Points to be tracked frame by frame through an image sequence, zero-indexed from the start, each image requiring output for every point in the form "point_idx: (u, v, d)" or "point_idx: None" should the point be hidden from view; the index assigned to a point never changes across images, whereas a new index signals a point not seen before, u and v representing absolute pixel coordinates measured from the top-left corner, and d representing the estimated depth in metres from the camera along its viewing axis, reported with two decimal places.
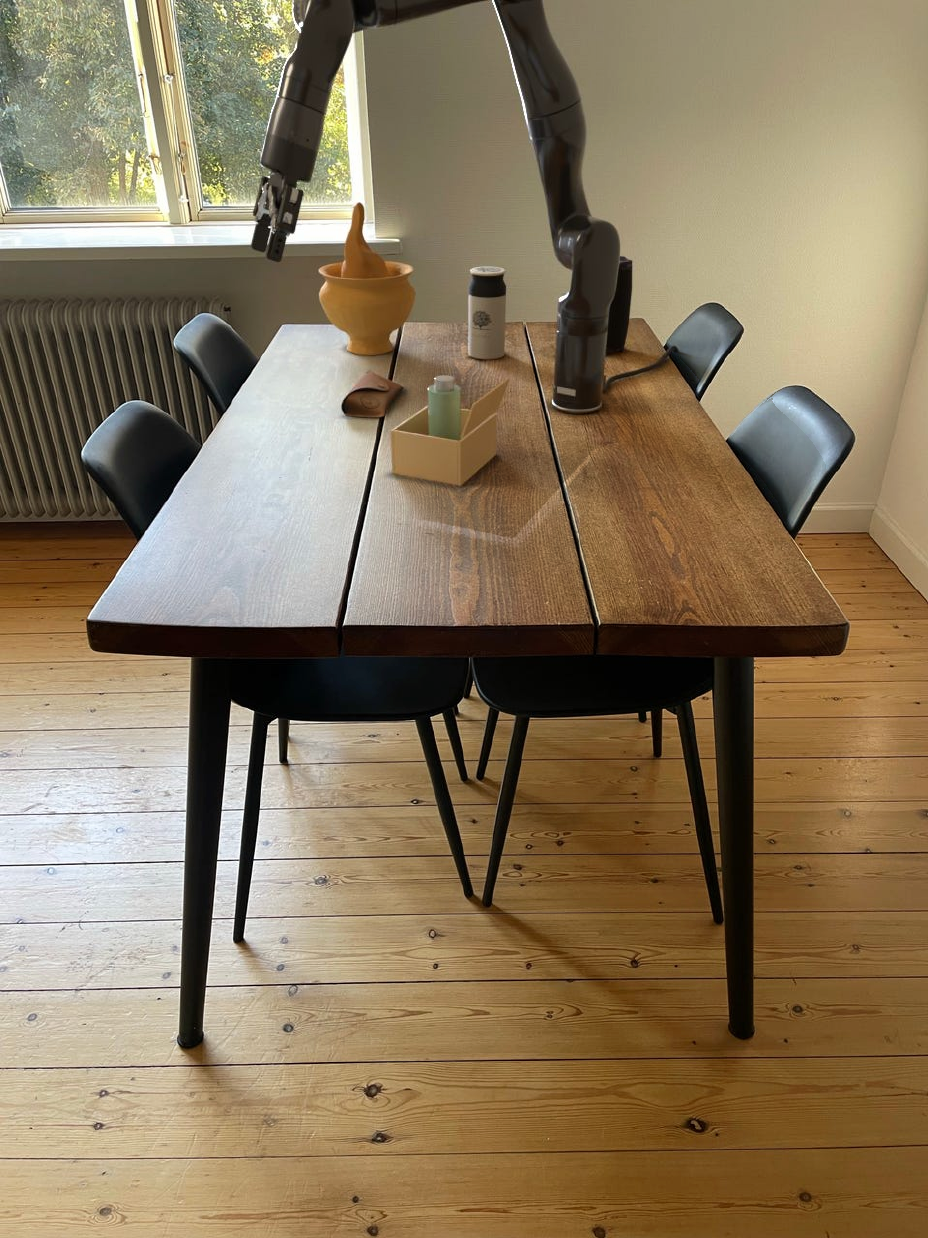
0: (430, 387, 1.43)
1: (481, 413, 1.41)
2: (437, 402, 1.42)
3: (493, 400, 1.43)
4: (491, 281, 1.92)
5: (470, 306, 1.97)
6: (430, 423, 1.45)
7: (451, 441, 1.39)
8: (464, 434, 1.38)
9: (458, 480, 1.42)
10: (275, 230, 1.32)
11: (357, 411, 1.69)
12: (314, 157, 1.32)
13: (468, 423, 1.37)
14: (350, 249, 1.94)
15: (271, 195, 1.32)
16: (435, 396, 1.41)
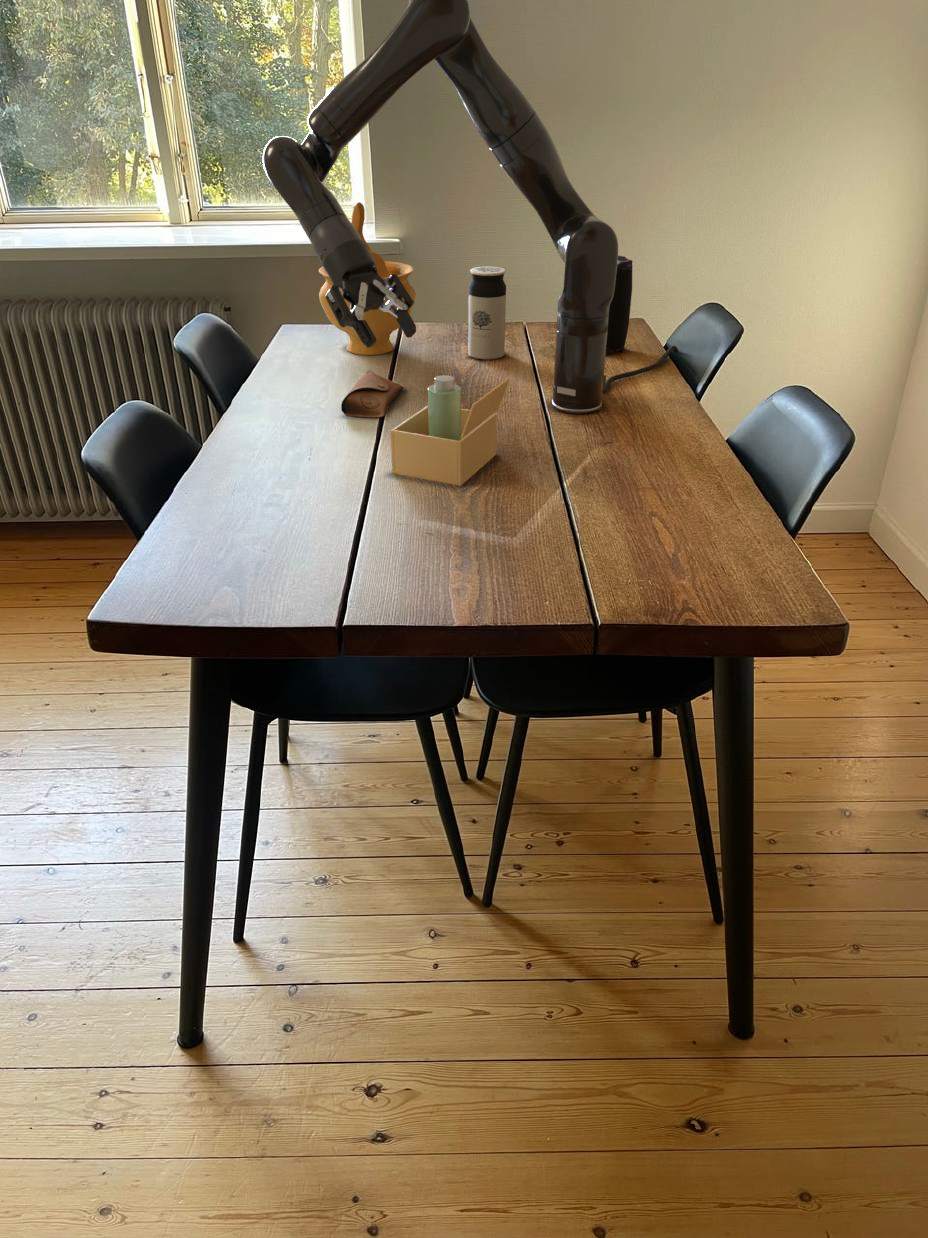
0: (430, 387, 1.43)
1: (481, 413, 1.41)
2: (437, 402, 1.42)
3: (493, 400, 1.43)
4: (491, 281, 1.92)
5: (470, 306, 1.97)
6: (430, 423, 1.45)
7: (451, 441, 1.39)
8: (464, 434, 1.38)
9: (458, 480, 1.42)
10: (352, 326, 1.45)
11: (357, 411, 1.69)
12: (342, 249, 1.44)
13: (468, 423, 1.37)
14: None
15: None
16: (435, 396, 1.41)
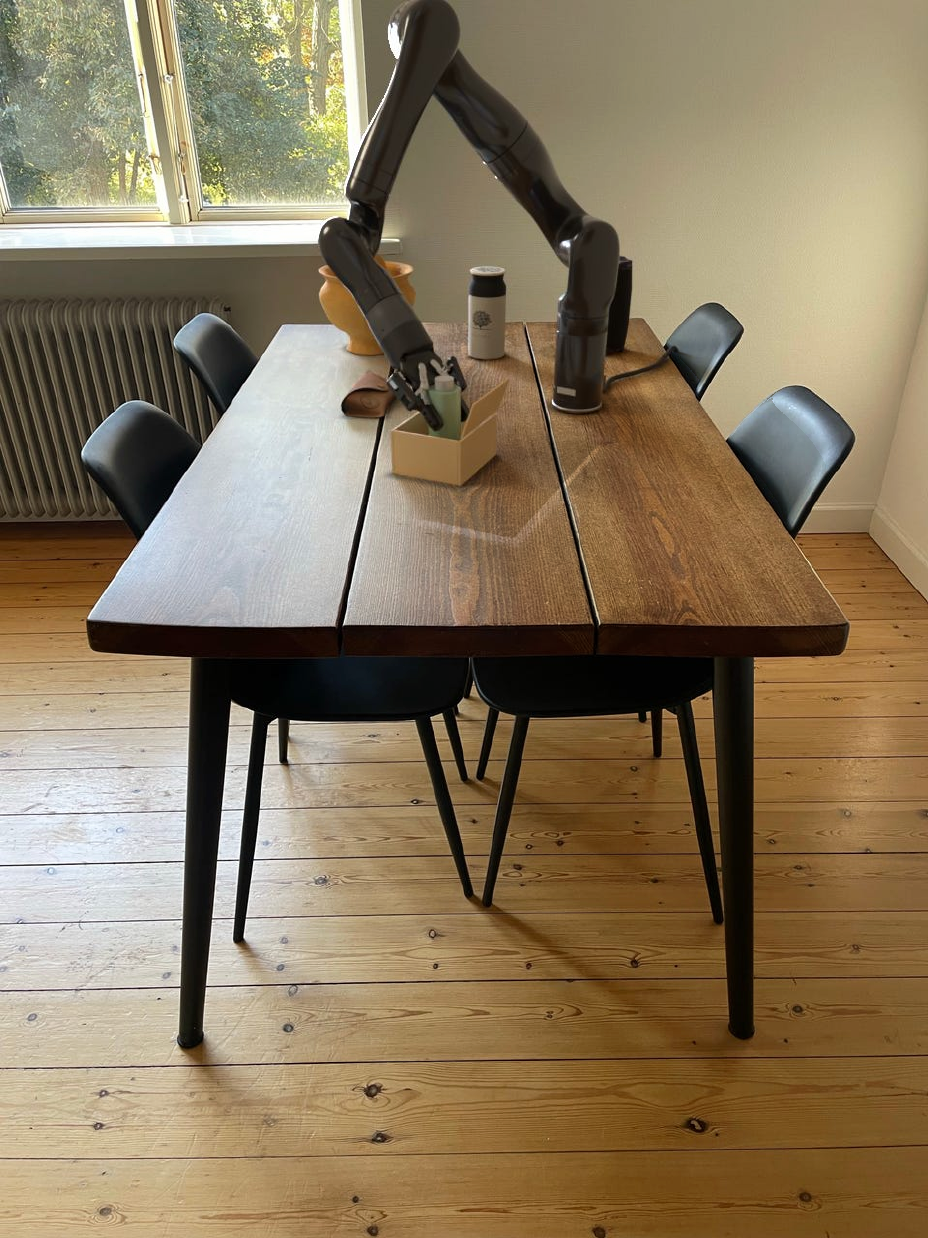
0: (430, 387, 1.43)
1: (481, 413, 1.41)
2: (437, 402, 1.42)
3: (493, 400, 1.43)
4: (491, 281, 1.92)
5: (470, 306, 1.97)
6: None
7: (451, 441, 1.39)
8: (464, 434, 1.38)
9: (458, 480, 1.42)
10: (419, 410, 1.43)
11: (357, 411, 1.69)
12: (399, 330, 1.42)
13: (468, 423, 1.37)
14: None
15: None
16: (435, 396, 1.41)
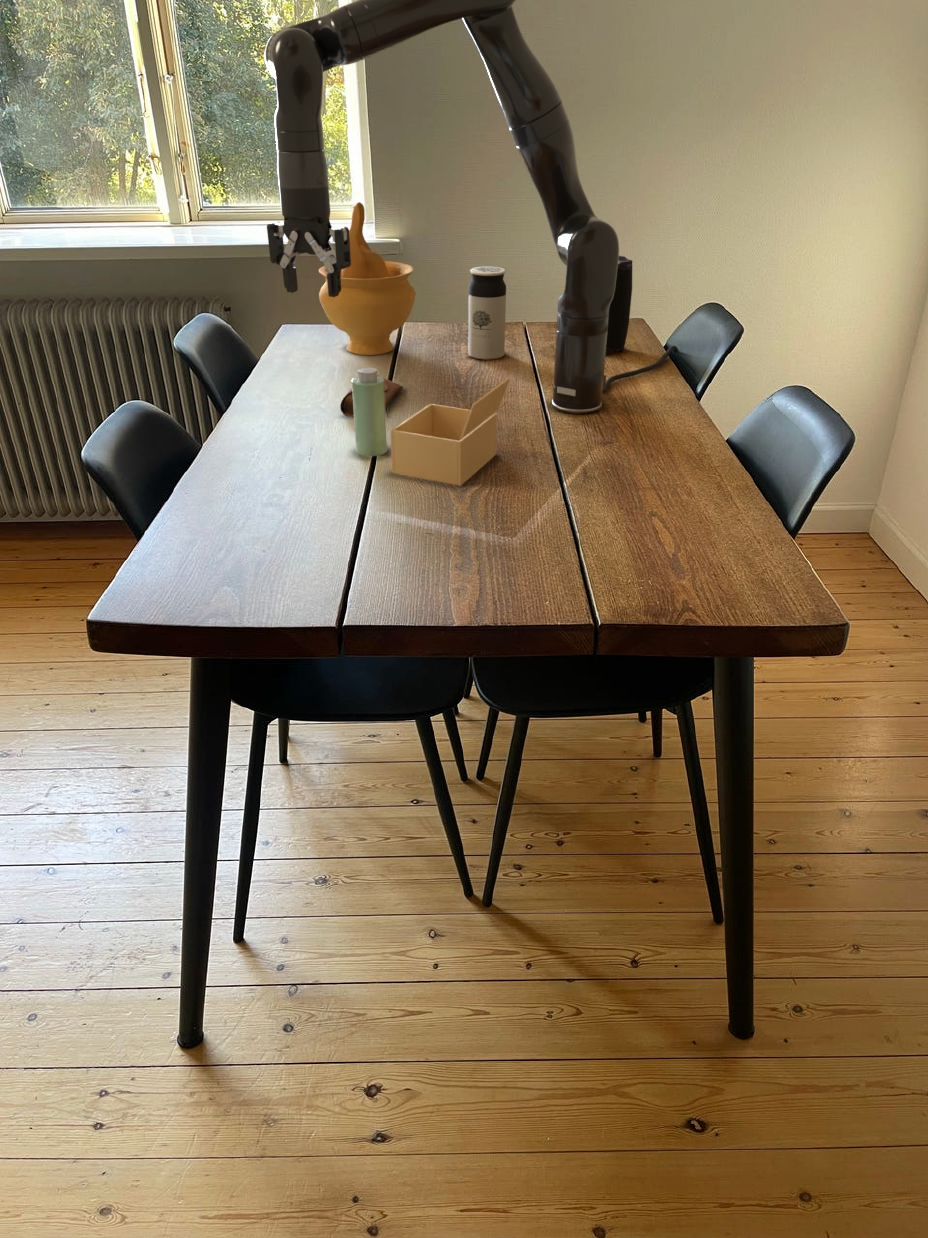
0: (354, 379, 1.48)
1: (481, 413, 1.41)
2: (360, 393, 1.47)
3: (493, 400, 1.43)
4: (491, 281, 1.92)
5: (470, 306, 1.97)
6: (355, 414, 1.50)
7: (451, 441, 1.39)
8: (464, 434, 1.38)
9: (458, 480, 1.42)
10: (334, 271, 1.45)
11: None
12: None
13: (468, 423, 1.37)
14: (350, 249, 1.94)
15: (314, 241, 1.43)
16: (358, 388, 1.47)
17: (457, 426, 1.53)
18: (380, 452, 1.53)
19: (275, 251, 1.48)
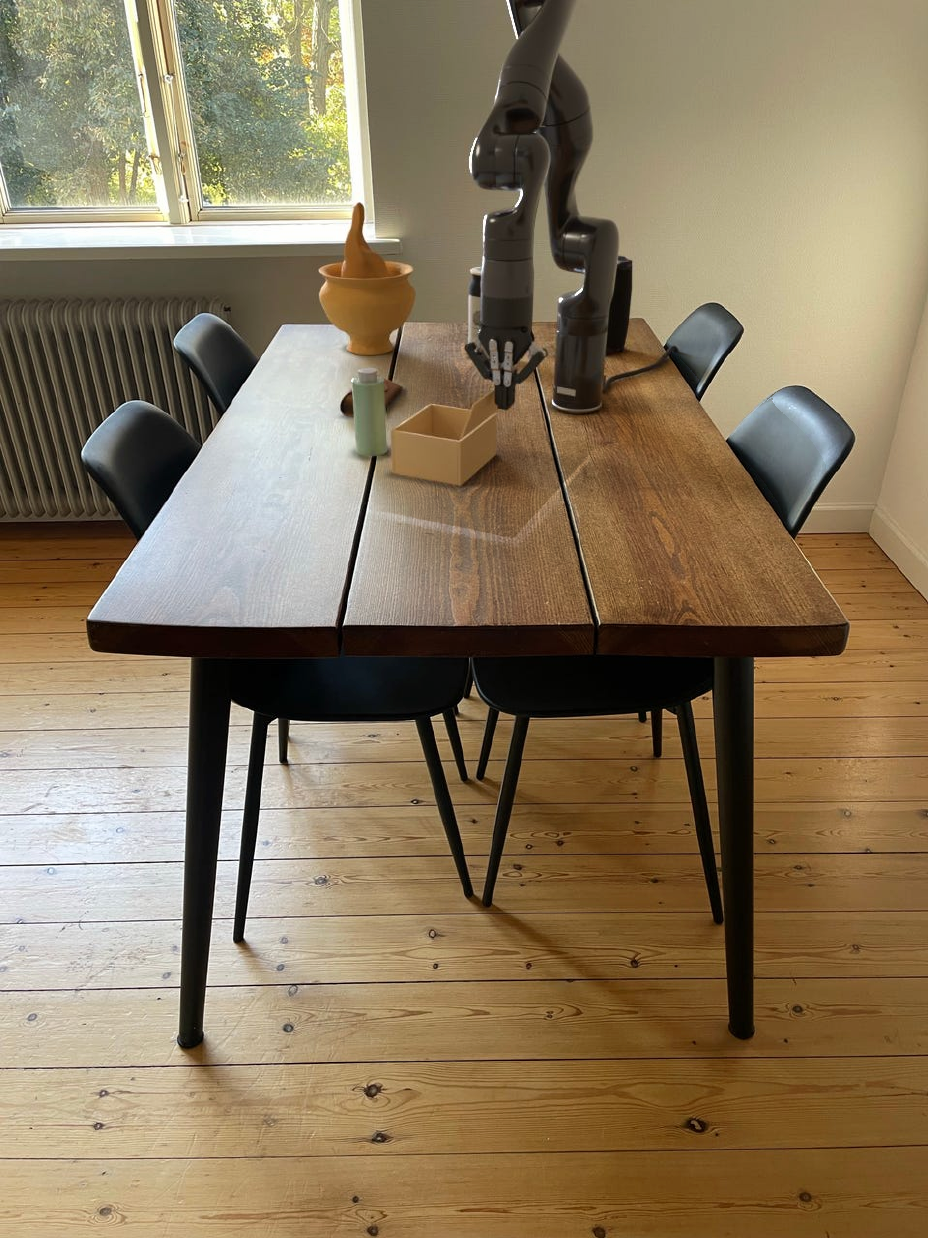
0: (354, 379, 1.48)
1: (481, 413, 1.41)
2: (360, 393, 1.47)
3: (493, 400, 1.43)
4: None
5: (470, 306, 1.97)
6: (355, 414, 1.50)
7: (451, 441, 1.39)
8: (464, 434, 1.38)
9: (458, 480, 1.42)
10: (510, 384, 1.37)
11: None
12: None
13: (468, 423, 1.37)
14: (350, 249, 1.94)
15: (510, 353, 1.34)
16: (358, 388, 1.47)
17: (457, 426, 1.53)
18: (380, 452, 1.53)
19: (484, 366, 1.37)
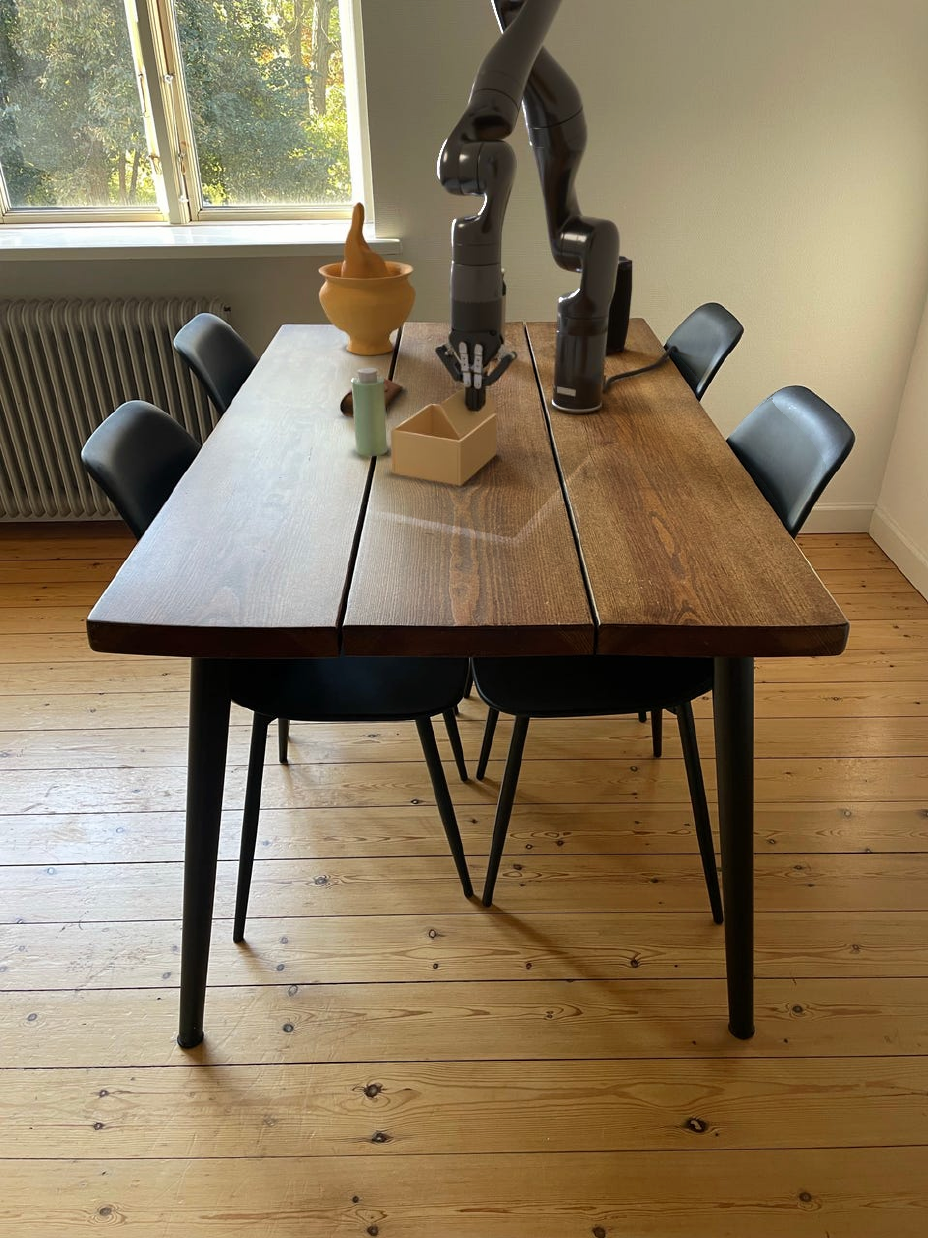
0: (354, 379, 1.48)
1: (466, 412, 1.42)
2: (360, 393, 1.47)
3: None
4: None
5: None
6: (355, 414, 1.50)
7: (451, 441, 1.39)
8: (460, 433, 1.38)
9: (458, 480, 1.42)
10: (481, 386, 1.39)
11: None
12: None
13: (453, 422, 1.38)
14: (350, 249, 1.94)
15: (480, 356, 1.36)
16: (358, 388, 1.47)
17: None
18: (380, 452, 1.53)
19: (454, 368, 1.39)
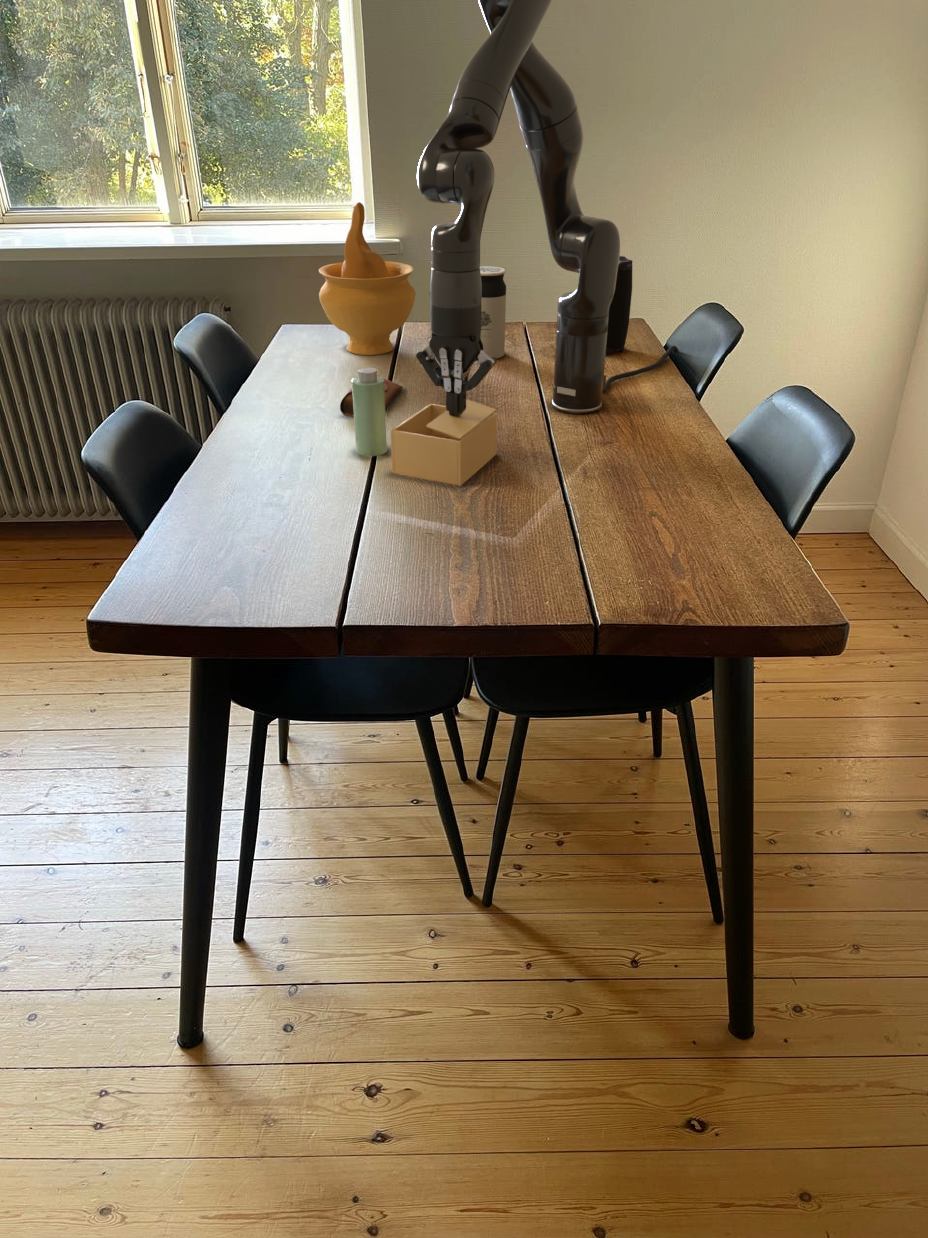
0: (354, 379, 1.48)
1: (460, 421, 1.43)
2: (360, 393, 1.47)
3: (465, 411, 1.46)
4: (491, 281, 1.92)
5: None
6: (355, 414, 1.50)
7: (451, 441, 1.39)
8: (458, 435, 1.39)
9: (458, 480, 1.42)
10: (461, 391, 1.41)
11: None
12: None
13: (447, 431, 1.39)
14: (350, 249, 1.94)
15: (460, 361, 1.38)
16: (358, 388, 1.47)
17: None
18: (380, 452, 1.53)
19: (435, 373, 1.41)
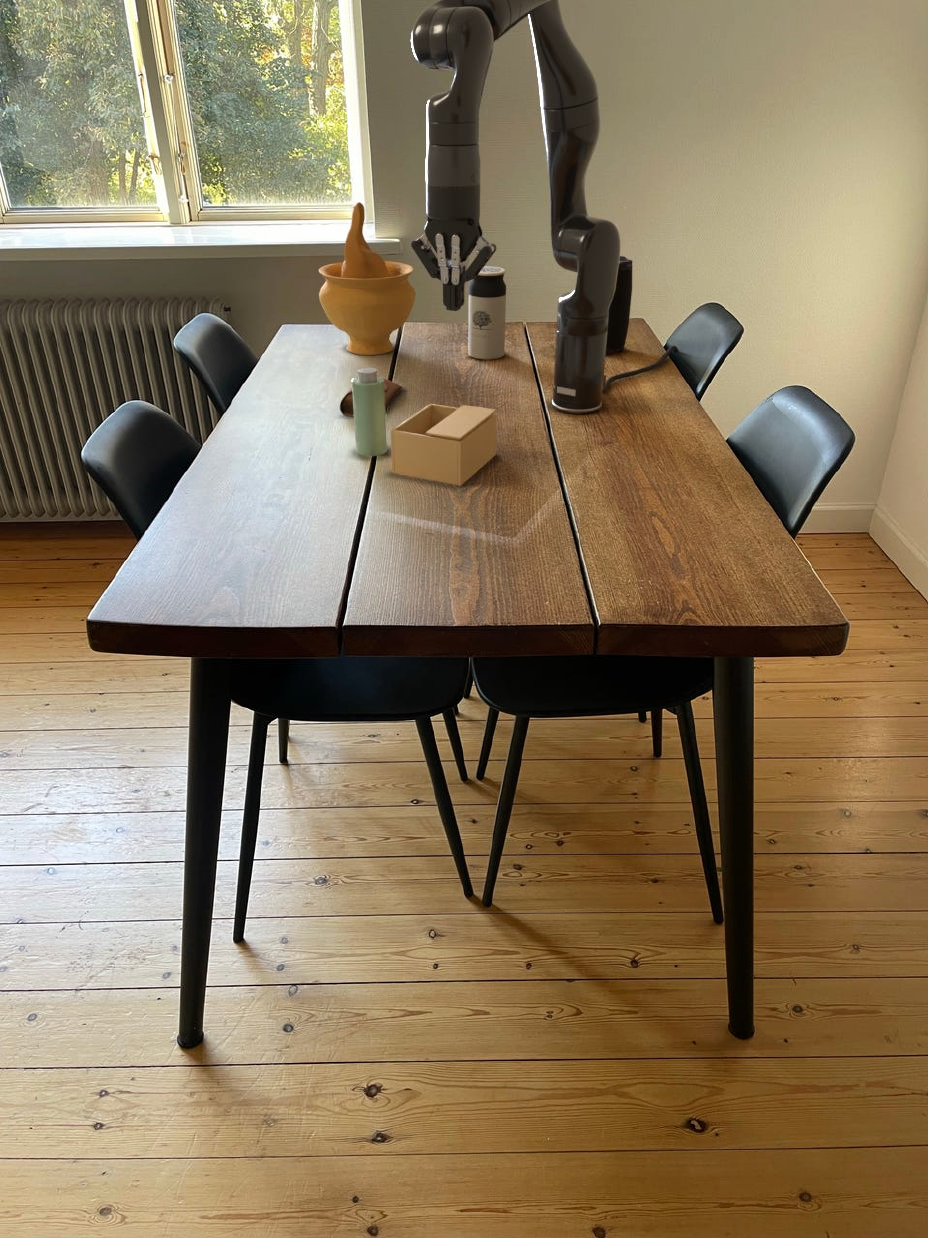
0: (354, 379, 1.48)
1: (459, 424, 1.43)
2: (360, 393, 1.47)
3: (464, 415, 1.46)
4: (491, 281, 1.92)
5: (470, 306, 1.97)
6: (355, 414, 1.50)
7: (451, 441, 1.39)
8: (458, 435, 1.39)
9: (458, 480, 1.42)
10: (459, 282, 1.33)
11: None
12: None
13: (446, 434, 1.39)
14: (350, 249, 1.94)
15: (457, 248, 1.29)
16: (358, 388, 1.47)
17: None
18: (380, 452, 1.53)
19: (431, 264, 1.33)
